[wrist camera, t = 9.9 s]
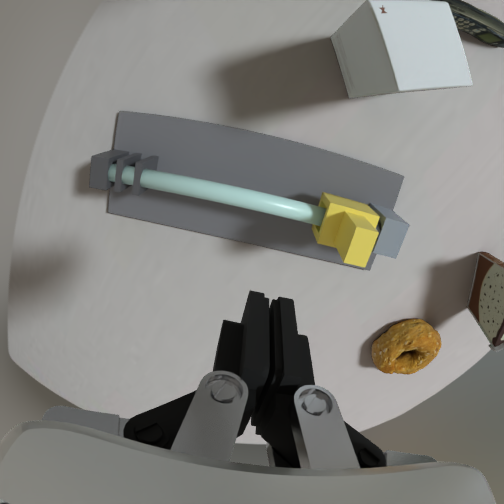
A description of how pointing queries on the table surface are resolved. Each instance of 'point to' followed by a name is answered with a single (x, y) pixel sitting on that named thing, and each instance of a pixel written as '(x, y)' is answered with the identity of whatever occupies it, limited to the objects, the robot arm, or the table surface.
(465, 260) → the table surface
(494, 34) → the mobile phone
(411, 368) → the bagel
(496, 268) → the food container
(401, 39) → the supplement box
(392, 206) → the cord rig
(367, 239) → the sleeve
